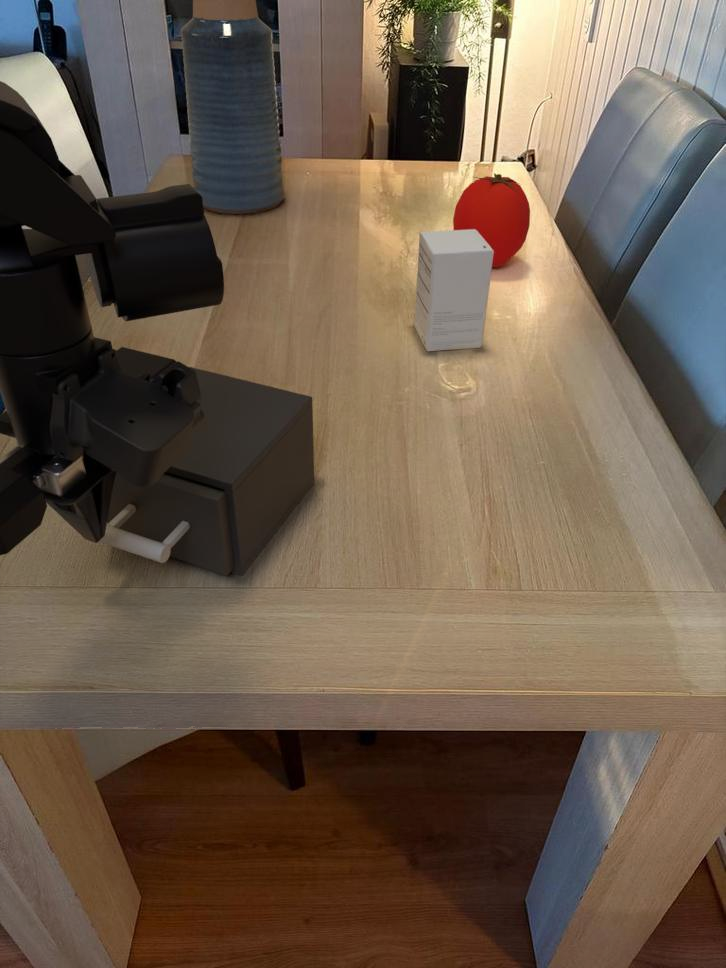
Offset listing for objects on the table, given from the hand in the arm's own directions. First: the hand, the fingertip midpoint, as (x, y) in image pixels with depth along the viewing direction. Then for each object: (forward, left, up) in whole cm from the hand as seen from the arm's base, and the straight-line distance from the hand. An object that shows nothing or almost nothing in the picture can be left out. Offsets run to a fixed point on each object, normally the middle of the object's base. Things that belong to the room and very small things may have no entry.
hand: (95, 538), depth 51 cm
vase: (+34, +95, -9) cm, 101 cm away
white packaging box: (+45, +34, -9) cm, 57 cm away
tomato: (+62, +54, -9) cm, 83 cm away
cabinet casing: (+10, +11, -9) cm, 17 cm away
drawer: (+8, +8, -8) cm, 13 cm away
